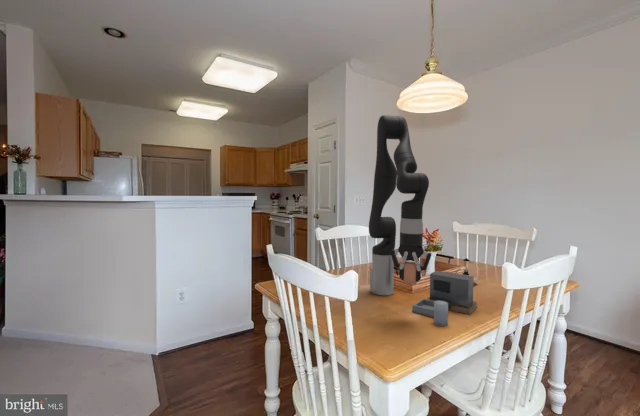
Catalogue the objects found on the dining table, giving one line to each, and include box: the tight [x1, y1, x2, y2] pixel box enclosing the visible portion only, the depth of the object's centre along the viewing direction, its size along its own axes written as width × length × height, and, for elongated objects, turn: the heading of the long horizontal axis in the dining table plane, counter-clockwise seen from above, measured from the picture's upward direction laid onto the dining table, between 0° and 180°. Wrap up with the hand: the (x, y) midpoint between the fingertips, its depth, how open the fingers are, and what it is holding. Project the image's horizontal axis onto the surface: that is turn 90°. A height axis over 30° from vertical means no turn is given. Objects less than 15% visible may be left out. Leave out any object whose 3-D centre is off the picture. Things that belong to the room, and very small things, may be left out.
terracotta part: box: [402, 261, 418, 286], centre depth 106 cm, size 4×4×7 cm
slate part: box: [433, 300, 449, 327], centre depth 103 cm, size 4×4×7 cm
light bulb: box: [462, 258, 478, 284], centre depth 149 cm, size 12×10×10 cm
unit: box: [426, 270, 478, 316], centre depth 119 cm, size 16×10×12 cm, turn 50°
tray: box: [411, 298, 434, 318], centre depth 113 cm, size 10×10×2 cm
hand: (410, 280), depth 107 cm, fingers closed on terracotta part, 4 cm apart
